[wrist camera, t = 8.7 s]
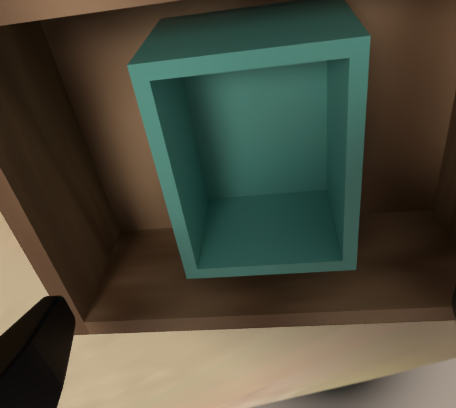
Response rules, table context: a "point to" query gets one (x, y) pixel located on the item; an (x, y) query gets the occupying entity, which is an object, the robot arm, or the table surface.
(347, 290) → the box
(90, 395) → the table surface
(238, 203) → the teal crate
